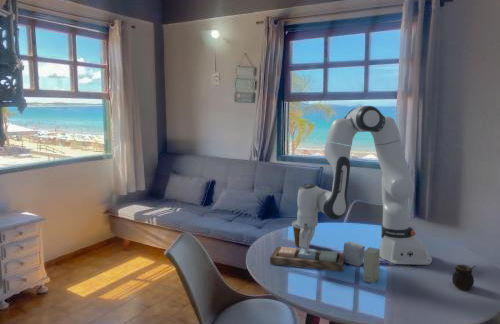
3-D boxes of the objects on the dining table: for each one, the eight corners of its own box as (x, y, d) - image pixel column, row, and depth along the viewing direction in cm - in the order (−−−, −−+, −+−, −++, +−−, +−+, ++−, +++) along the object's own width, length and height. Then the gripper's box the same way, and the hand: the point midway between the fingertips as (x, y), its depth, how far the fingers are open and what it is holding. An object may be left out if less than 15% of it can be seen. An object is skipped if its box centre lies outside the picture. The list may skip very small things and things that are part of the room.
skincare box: (373, 283, 149) (374, 254, 147) (362, 280, 152) (363, 251, 150) (379, 278, 154) (380, 248, 152) (368, 275, 157) (369, 246, 155)
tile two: (316, 255, 173) (316, 249, 173) (314, 262, 167) (314, 255, 166) (301, 254, 175) (301, 247, 175) (298, 260, 169) (298, 253, 168)
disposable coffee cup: (312, 248, 186) (312, 224, 184) (292, 249, 186) (292, 225, 185) (310, 241, 196) (310, 219, 194) (291, 242, 196) (291, 219, 194)
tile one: (337, 258, 171) (337, 251, 170) (335, 264, 164) (335, 257, 164) (321, 256, 173) (321, 250, 172) (319, 263, 166) (319, 256, 166)
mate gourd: (453, 281, 150) (455, 256, 148) (476, 286, 145) (478, 261, 144) (449, 287, 144) (451, 262, 143) (472, 294, 140) (474, 268, 138)
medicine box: (362, 264, 168) (365, 246, 167) (357, 267, 165) (360, 248, 163) (346, 258, 174) (349, 240, 172) (341, 261, 170) (344, 242, 169)
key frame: (344, 259, 173) (344, 253, 172) (342, 271, 161) (342, 264, 160) (277, 252, 182) (277, 246, 182) (270, 263, 170) (270, 257, 169)
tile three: (296, 254, 176) (296, 247, 176) (293, 260, 169) (293, 253, 169) (281, 253, 178) (281, 246, 178) (278, 258, 172) (278, 251, 171)
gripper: (310, 228, 158) (310, 261, 160) (317, 215, 177) (317, 244, 179) (295, 227, 160) (295, 259, 162) (304, 214, 179) (303, 242, 181)
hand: (307, 251), depth 171 cm, fingers closed
